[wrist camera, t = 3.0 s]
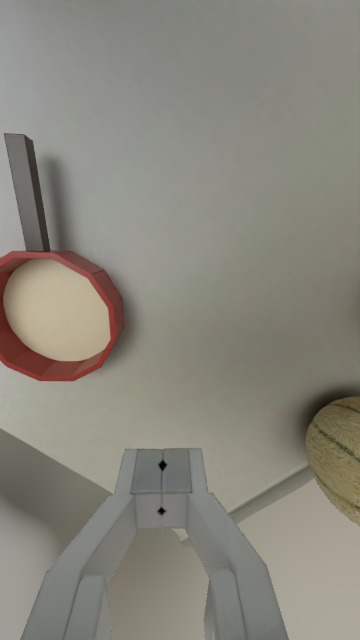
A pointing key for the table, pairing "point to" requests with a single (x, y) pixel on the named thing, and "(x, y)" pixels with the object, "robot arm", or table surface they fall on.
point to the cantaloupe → (337, 454)
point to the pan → (51, 292)
